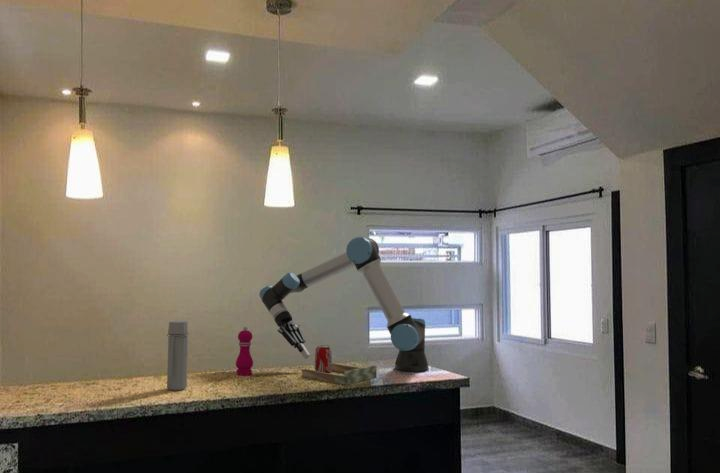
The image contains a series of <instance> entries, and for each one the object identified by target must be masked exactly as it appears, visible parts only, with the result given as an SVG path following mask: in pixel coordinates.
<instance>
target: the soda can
mask: <svg viewBox="0 0 720 473" xmlns="http://www.w3.org/2000/svg"><path fill="white" fill-rule="evenodd" d="M332 352H333V351H332V348H331V345H328V344H320V345H316V347H315V352H314V371H318V372H324V373H330V374H332V370H331V364H332V356H333V355H332Z"/></svg>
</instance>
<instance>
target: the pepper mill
mask: <svg viewBox="0 0 720 473" xmlns="http://www.w3.org/2000/svg"><path fill="white" fill-rule="evenodd" d="M237 338H238V341H239V344H238V346H239V353H238V356H237V358H236V361H235V366H236V368H237V369H236V375H237V376H243V377H245V376H250V375H252V373H253V370H252V367H253V366H254V360H253V358H252V354H251V352H250V346H251V345H252V344H251V343H252V342H251V340H252V339H253V333H252V332H251V331H250V330H248V327H247V326H244V327H243V328H242V331H241V330H240V331H239V332H238V335H237Z"/></svg>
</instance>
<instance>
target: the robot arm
mask: <svg viewBox="0 0 720 473" xmlns="http://www.w3.org/2000/svg"><path fill="white" fill-rule="evenodd" d="M379 251H380V248H379V244H378V243H377V242H376V240H375V239H373V238H370V237H365V236H357V237H354V238H352V239H351V240H349V242H348V243H347V246H346V248H345V252H344V253H342V254H339V255H337V256H335V257H333V258H331V259H329V260H327V261H324V262H321V263H320V264H318V265H316V266H314V267H311V268H310V269H308V270H306V271H303V272H301V273H299V274H297V275H296V274H295V273H293V272H287V273H286V274H284V275H283V277H281V279H279V281H277V282H276V283H275V284H274V285H273V286H272V285H267V286H265V287H263V288H262V289H260V291H259V293H258V294H259V297H260V299H261V303H263V304H264V306H265V308H266V310H268V313H269V314H270V315H271V317H272V319H273V320H274V322H275V324H276V326H277V327H279V328H278V330H277V332H278V333H279V334H281V335H282V337H283V338H284V339H285V340H286V341H287V342H288V344H290V345H291V347H293V348H294V349H297V350H298V352H299V353H300V354H301V356H302V358H303V359H304V360H305V359H307V360H308V358H309V356H310V355H311V354H310V352H309V351H308V348H307V347H306V345H305V343H306V340H307V339H306V338H305V336H304V333H303V331H302V326H301V325H300V324H298V325H297V324H296V323H295V322H294V321H293V316H292V314H291V313H290V311H289V310H288V308H287V307H286V305H285V304H284V302H283V300H284V299H285V298H286V297H288V296H289V295H290V294H293V293H294V294H295V293H301V292H303V291H304V290H306V289H308V288H310V287H312V286H314V285H316V284H319V283H320V282H322V281H325V280H327V279H329V278H331V277H333V276H336V275H338V274H340V273H343V272H344V271H347V270H348V269H351V268H353V267H355V269H356V271H357V272H358V273H361V274H363V276H364V278H365V280H366V282H367V284H368V286H369V289H370V290H371V292H372V293H373V296H374V297H375V300H376V302H377V303H378V306H379V307H380V309H381V311H382V313H383V315H384V317H385V319H386V320H387V324H386V328H387V330H388V332H389V334H390V340H391V344H392V345H393V346H394V348H396V349H397V350H398V353H397V357H396V360H395V363H394V369H395V370H396V371H401V372H413V373H414V372H415V373H416V372H425V371H428V370H429V362H428V360H427V356H426V355H427V354H426V352H425V350H426V349H425V346H426V345H425V344H426V342H425V341H426V339H425V337H426V320H425V319H424V318H420V317H419V318H417V317H412V315H411V314H410V313H407V312H406V311H405V310H404V307H403V306H402V303H401V302H400V299H399V298H398V296H397V294H396V292H395V290H394V289H393V286H392V285H391V282H390V281H389V279H388V277H387V276H386V273H385V271H384V270H383V268H382V265H381V261H382V258H381V256H380V255H379V254H380V252H379Z"/></svg>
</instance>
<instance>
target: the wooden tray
mask: <svg viewBox="0 0 720 473" xmlns="http://www.w3.org/2000/svg"><path fill="white" fill-rule="evenodd" d="M377 368H378V367H377V365H376V364H374V365H368V366H364V367H358V366H354V365H352V366H351V365H346V364H340V363H332V362H331V371H332V370H333V372H338V371H340V372H339V373H344V374H343V375H341V374H335V373H324V372H318V371H315V370H311V369H305V368H302V369H301V377H304V378H307V377H308V378H307V379H313V380H320V381H324V382H325V381H326V382H330V383H336V384H340V385H341V384H342V385H350V384H355V383H358V382H364V381H367V380H371V379H375V378H377V374H378V373H377V370H378V369H377Z"/></svg>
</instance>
